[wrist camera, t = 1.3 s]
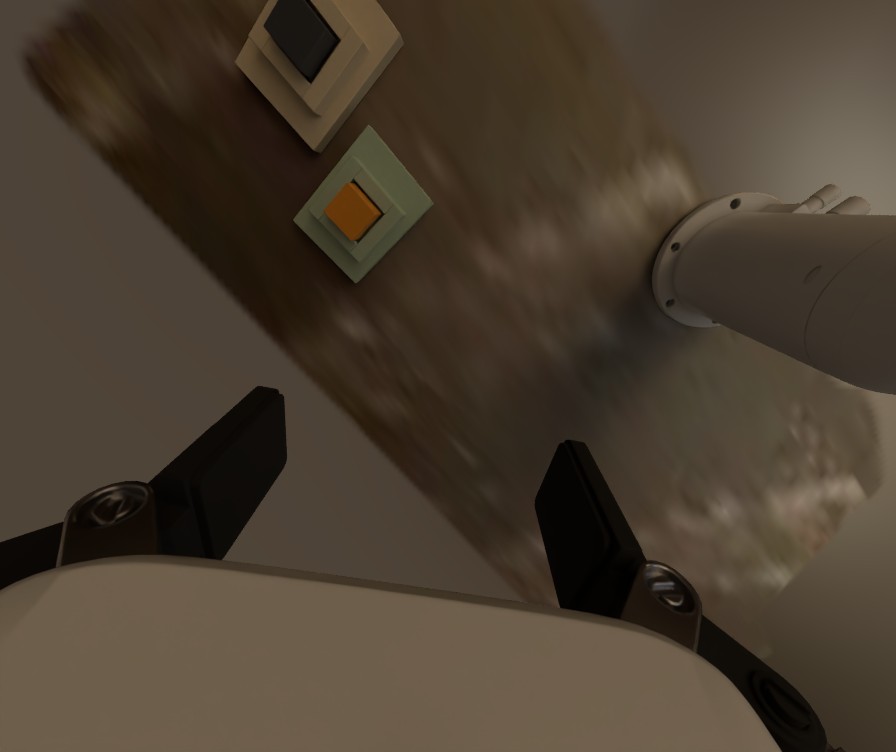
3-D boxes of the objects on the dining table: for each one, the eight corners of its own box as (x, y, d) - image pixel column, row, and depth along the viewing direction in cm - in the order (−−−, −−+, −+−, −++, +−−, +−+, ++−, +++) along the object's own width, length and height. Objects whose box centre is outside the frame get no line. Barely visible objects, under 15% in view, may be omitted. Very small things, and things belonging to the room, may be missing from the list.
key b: (354, 183, 29) (347, 181, 27) (381, 213, 30) (376, 214, 28) (331, 210, 30) (322, 211, 28) (358, 239, 31) (351, 241, 29)
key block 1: (326, -65, 24) (306, -104, 21) (404, 44, 27) (396, 23, 24) (246, 69, 28) (219, 52, 25) (320, 153, 30) (304, 147, 27)
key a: (303, -2, 24) (289, -21, 22) (337, 42, 25) (327, 28, 23) (277, 39, 25) (262, 25, 23) (312, 80, 26) (299, 70, 24)
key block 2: (373, 128, 29) (362, 119, 26) (434, 203, 32) (430, 203, 29) (300, 219, 33) (282, 221, 30) (360, 280, 36) (349, 287, 33)
